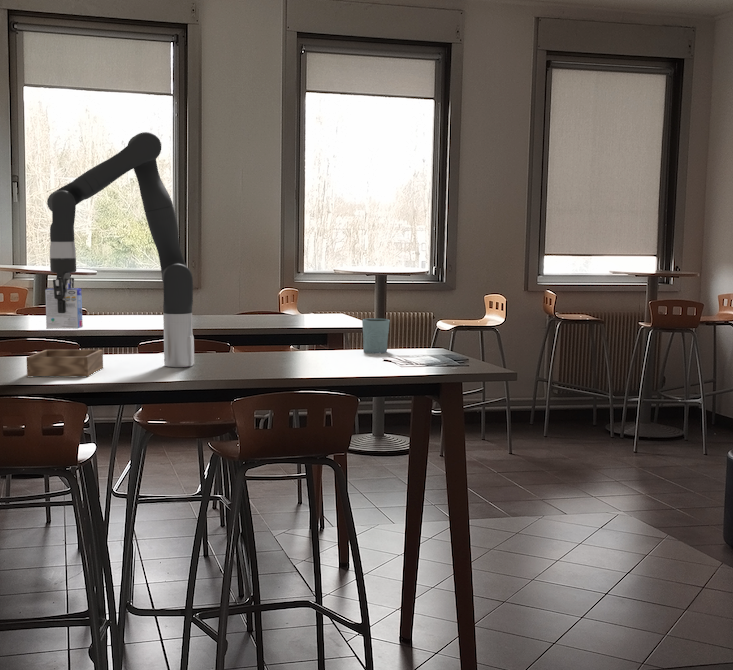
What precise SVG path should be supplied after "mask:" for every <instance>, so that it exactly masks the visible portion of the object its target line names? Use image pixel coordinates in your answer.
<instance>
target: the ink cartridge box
mask: <svg viewBox="0 0 733 670" xmlns="http://www.w3.org/2000/svg"><path fill="white" fill-rule="evenodd" d="M63 290H65V289H63ZM44 292H45V293H44V294H45V295H44V296H45V321H46V322H45V325H46V329H48V330H50V329H51V330H52V329H62V330H63V329H64V330H65V329H66V330H67V329H73V330H76V329H77V330H78V329H81V328H83V327H84V325H83V302H82V301H83V298H82V287H81V288H80V287H79V288H78V287H77V288H70V283H69V285H68V289H67V293H66V300H65V301H66V312H65V313H58V301H57V300H56V299H55V298H54V288H46V289H45V290H44ZM59 295H61V293H60V294H59Z"/></svg>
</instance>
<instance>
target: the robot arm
mask: <svg viewBox="0 0 733 670" xmlns="http://www.w3.org/2000/svg"><path fill="white" fill-rule="evenodd" d="M161 152H162V142H161V140H160V138H159V137H158V136H157V135H156V134H155V133H152V132H148V131H144V132H139V133H136V135H134V136H132V137H131V138H130V139H129V140H128V143H127V145H126V146H125V147H124V148H123V149H122V150H121V151H119V152H118V153H116V154H114V155H113V156H112V157H110V158H108V159H106V160H104V161H102V162H101V163H99V164H97V165H95V166H93V167H91V168H90V169H88V170H87V171H86V172H85V171H84V173H82V174H81V175H79V176H78V177H76V178H75V179H73V181H71V182H69V183H66V184H64V185H63V186H61V187H59V188H58V189H56V190H54V191H53V192H51V193H50V194H49V196H48V197H47V203H46V205H47V207H48V209H49V210H50V211H51V212H52V213H51V215H52V216H51V217H52V219H51V220H52V221H51V225H50V226H49V238H50V242H49V243H50V244H49V264H50V265H49V266H50V272H51V273H53V274H56V278H55V279H53V280H52V285H53V289H54V298H55V299H56V300H57V301H58V313H65V312H66V301H65V300H66V293H67V289H68V285H69V283H70V288H74V287H75V277H71V273H76V272H77V252H76V251H77V249H76V243H75V220H76V208H77V207H76V206H77V205H78V204H80V203H81V202H83V201H85V200H89V199H90V198H92V197H94V196H95V195H97V194H98V193H100V192H102V190H104V189H106V188H107V187H108V186H109V185H111V184H112V183H114V182H115V181H116V180H118V179H119V178H120V177H122V176H124V174H126V173H128V172H130V171H131V170H134V174H135V176H136V179H137V183H138V188H139V192H140V197H141V201H142V206H143V210H144V215H145V218H146V223H147V225H148V229H149V232H150V235H151V237H152V240H153V242H154V243H153V244H154V245H155V247H156V250H157V255H158V259H159V266H160V272H161V281H162V283H163V284H162V285H163V287H162V288H163V302H162V303H163V305H162V307H163V311H162V312H163V313H162V316H163V358H164V359H163V363H164V365H163V366H164V367H169V368H183V367H184V368H185V367H193V366H194V365H195V337H194V335H193V332H194V331H193V306H194V305H193V304H194V282H193V281H194V279H193V274H192V271H191V269H190V268H189V267H187V264H186V261H185V260H184V259H185V258H184V256H183V253H182V249H181V245H180V236H179V235H180V234H179V226H178V225H179V224H178V220H177V215H176V211H175V207H174V204H173V201H172V198H171V196H170V194H169V192H168V190H167V189H166V187H165V185H164V182H163V181H162V179H161V176H160V173H159V168H158V164H157V163H158V162H157V158H158V157H159V156H160V154H161ZM63 289H65V290H63ZM60 293H61V295H59V294H60Z"/></svg>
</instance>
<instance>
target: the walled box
mask: <svg viewBox="0 0 733 670" xmlns="http://www.w3.org/2000/svg"><path fill="white" fill-rule="evenodd" d="M103 352H104V351H103V349H44V350H42V351H39V352H37V353H34V354H31V355H29V356H27V357H26V377H27V376H89V375H91V374H93V373H94V372H96V371H98V370H99V371H101V370H102V368H103V369H104V358H103V357H104V355H103V354H104V353H103ZM100 369H101V370H100ZM99 371H98V372H99ZM96 373H97V372H96ZM94 374H95V373H94ZM94 374H93V375H94ZM91 376H92V375H91ZM89 377H90V376H89Z"/></svg>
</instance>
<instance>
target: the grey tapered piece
mask: <svg viewBox="0 0 733 670" xmlns="http://www.w3.org/2000/svg"><path fill="white" fill-rule="evenodd" d="M361 322H362V339H363V340H362V341H363V342H362V344H363V353H365V354H385V353H388V341H389V333H390V332H389V331H390V324H391V323H390V322H391V321H390V319H387V318H380V317H379V318H373V317H371V318H368V317H367V318H363V319H362V321H361Z"/></svg>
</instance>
